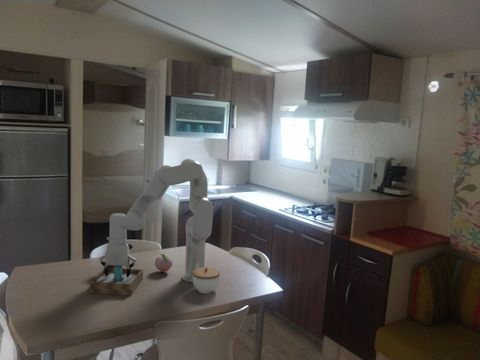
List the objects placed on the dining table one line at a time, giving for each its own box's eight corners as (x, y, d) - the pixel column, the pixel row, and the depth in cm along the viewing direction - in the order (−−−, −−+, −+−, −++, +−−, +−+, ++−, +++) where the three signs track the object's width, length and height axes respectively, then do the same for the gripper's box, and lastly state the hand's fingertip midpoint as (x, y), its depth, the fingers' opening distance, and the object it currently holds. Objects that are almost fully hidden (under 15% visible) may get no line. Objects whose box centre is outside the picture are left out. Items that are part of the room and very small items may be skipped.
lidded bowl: (186, 288, 182) (187, 266, 180) (208, 282, 190) (209, 261, 188) (201, 298, 172) (202, 274, 171) (224, 292, 180) (225, 269, 179)
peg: (120, 287, 179) (120, 266, 178) (112, 287, 179) (112, 266, 178) (122, 284, 183) (123, 264, 182) (115, 284, 183) (115, 263, 182)
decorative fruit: (151, 271, 201) (151, 252, 200) (165, 268, 206) (165, 250, 205) (160, 277, 194) (161, 257, 193) (174, 273, 199) (175, 254, 198)
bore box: (142, 279, 190) (143, 269, 190) (131, 295, 172) (131, 284, 171) (105, 277, 190) (105, 267, 190) (89, 293, 172) (89, 282, 171)
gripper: (96, 241, 175) (96, 278, 177) (134, 243, 174) (133, 280, 177) (102, 237, 182) (102, 271, 184) (139, 239, 182) (138, 274, 184)
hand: (117, 275), depth 180 cm, fingers open, 9 cm apart
